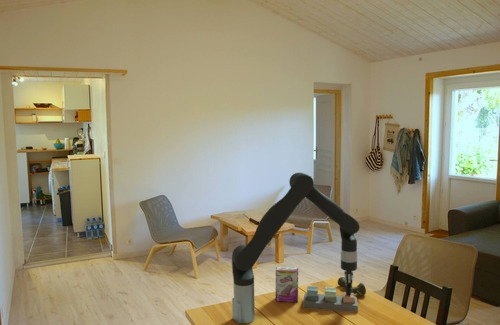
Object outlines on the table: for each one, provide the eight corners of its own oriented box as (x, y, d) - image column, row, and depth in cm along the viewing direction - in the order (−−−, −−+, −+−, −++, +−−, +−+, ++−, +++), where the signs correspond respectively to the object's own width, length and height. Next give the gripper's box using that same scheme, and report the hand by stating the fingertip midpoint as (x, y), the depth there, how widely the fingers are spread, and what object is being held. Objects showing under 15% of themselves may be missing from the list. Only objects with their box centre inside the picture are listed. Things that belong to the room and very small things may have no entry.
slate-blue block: (317, 300, 192) (317, 290, 191) (307, 300, 193) (307, 290, 192) (317, 296, 197) (317, 286, 196) (307, 295, 198) (307, 285, 197)
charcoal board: (357, 312, 186) (357, 305, 186) (303, 308, 191) (303, 302, 191) (356, 302, 196) (356, 296, 196) (304, 299, 201) (304, 293, 201)
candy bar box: (275, 302, 198) (275, 270, 196) (275, 297, 203) (275, 266, 201) (298, 302, 197) (298, 270, 195) (298, 298, 202) (298, 266, 200)
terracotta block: (354, 307, 189) (354, 297, 189) (343, 306, 190) (343, 296, 189) (353, 302, 194) (353, 292, 193) (342, 302, 195) (342, 292, 194)
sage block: (335, 302, 190) (335, 291, 190) (324, 301, 191) (325, 291, 191) (335, 297, 195) (335, 287, 195) (325, 296, 196) (325, 286, 196)
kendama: (349, 284, 219) (370, 299, 199) (333, 287, 216) (353, 302, 197) (349, 274, 218) (370, 287, 199) (333, 277, 215) (353, 290, 196)
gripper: (358, 264, 182) (357, 300, 184) (356, 254, 195) (355, 289, 197) (341, 263, 184) (340, 299, 186) (340, 254, 197) (339, 288, 199)
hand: (348, 294), depth 191 cm, fingers closed
